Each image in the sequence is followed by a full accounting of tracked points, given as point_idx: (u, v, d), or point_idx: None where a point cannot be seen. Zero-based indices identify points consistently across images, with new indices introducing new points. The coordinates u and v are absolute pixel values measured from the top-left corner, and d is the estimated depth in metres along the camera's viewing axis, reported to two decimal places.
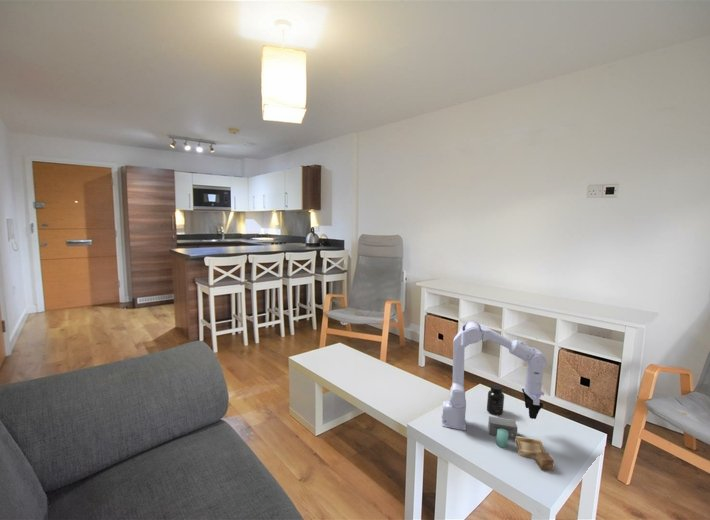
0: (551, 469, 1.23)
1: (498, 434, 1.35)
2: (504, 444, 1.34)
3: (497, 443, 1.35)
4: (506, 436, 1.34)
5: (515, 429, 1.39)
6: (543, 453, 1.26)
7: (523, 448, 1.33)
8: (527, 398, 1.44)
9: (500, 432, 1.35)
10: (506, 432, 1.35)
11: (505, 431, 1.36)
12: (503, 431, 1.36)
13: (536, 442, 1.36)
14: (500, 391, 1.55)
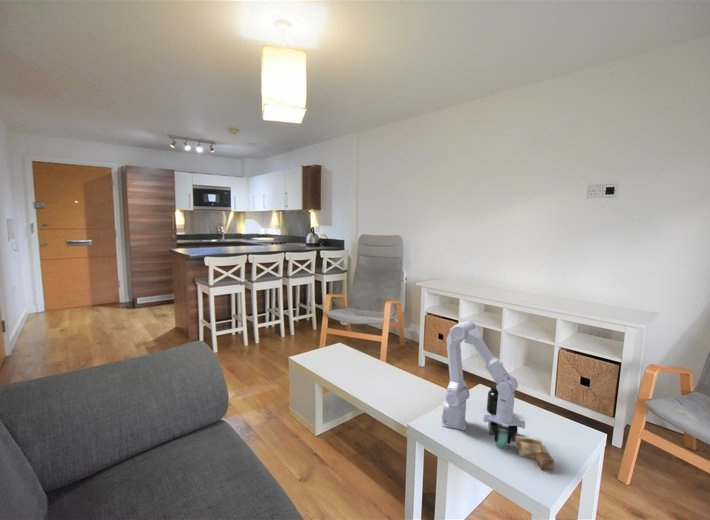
0: (551, 469, 1.23)
1: (498, 434, 1.35)
2: (504, 443, 1.34)
3: (497, 443, 1.35)
4: (506, 436, 1.34)
5: None
6: (543, 453, 1.26)
7: (523, 448, 1.33)
8: (508, 431, 1.35)
9: (500, 432, 1.35)
10: (506, 432, 1.35)
11: (505, 431, 1.36)
12: (503, 431, 1.36)
13: (536, 442, 1.36)
14: None
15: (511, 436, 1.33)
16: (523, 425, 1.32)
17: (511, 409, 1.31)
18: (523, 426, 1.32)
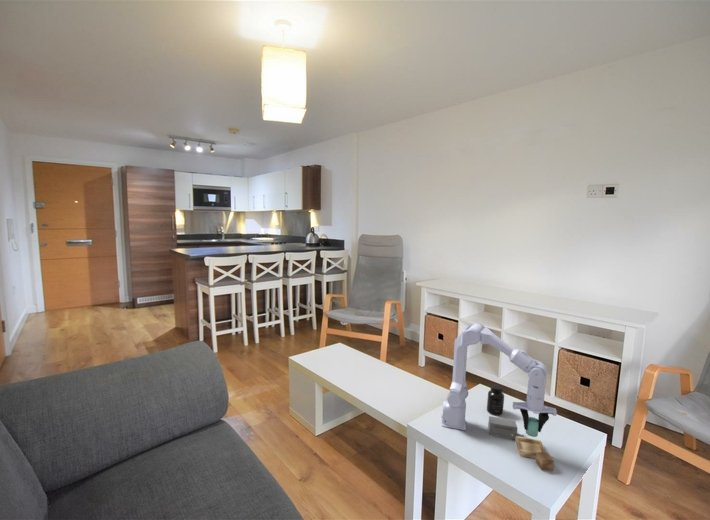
0: (551, 469, 1.23)
1: (528, 422, 1.31)
2: (535, 432, 1.30)
3: (527, 431, 1.32)
4: (537, 424, 1.30)
5: (515, 429, 1.39)
6: (543, 453, 1.26)
7: (523, 448, 1.33)
8: (539, 419, 1.32)
9: (530, 420, 1.31)
10: (536, 420, 1.31)
11: (535, 419, 1.32)
12: (533, 419, 1.32)
13: (536, 442, 1.36)
14: (500, 391, 1.55)
15: (542, 423, 1.29)
16: (555, 412, 1.29)
17: (543, 395, 1.28)
18: (555, 413, 1.29)
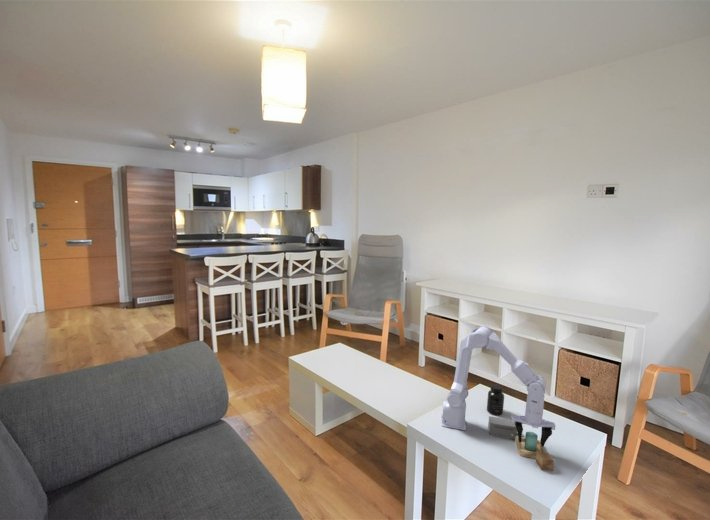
0: (551, 469, 1.23)
1: (527, 437, 1.32)
2: (533, 447, 1.31)
3: (526, 446, 1.33)
4: (535, 439, 1.31)
5: (515, 429, 1.39)
6: (543, 453, 1.26)
7: (523, 448, 1.33)
8: (542, 433, 1.32)
9: (529, 435, 1.32)
10: (535, 435, 1.32)
11: (534, 434, 1.33)
12: (532, 434, 1.33)
13: None
14: (500, 391, 1.55)
15: (545, 438, 1.30)
16: (553, 426, 1.29)
17: (542, 410, 1.29)
18: (553, 427, 1.29)
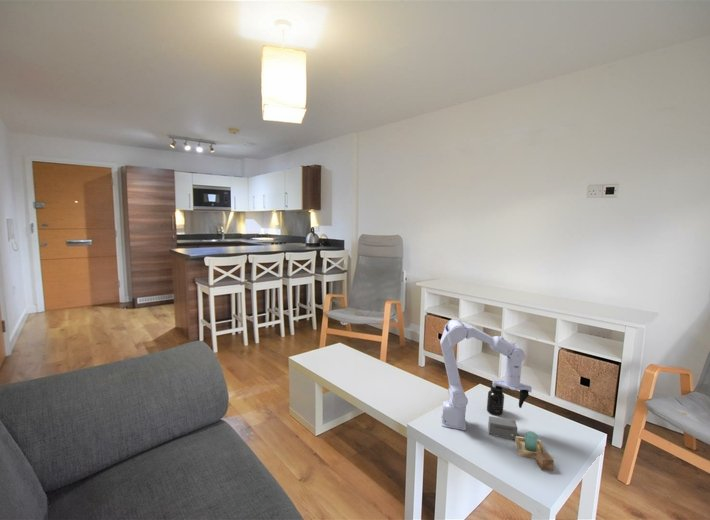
0: (551, 469, 1.23)
1: (527, 437, 1.32)
2: (533, 447, 1.31)
3: (526, 446, 1.33)
4: (535, 439, 1.31)
5: (515, 429, 1.39)
6: (543, 453, 1.26)
7: (523, 448, 1.33)
8: (520, 396, 1.45)
9: (529, 435, 1.32)
10: (535, 435, 1.32)
11: (534, 434, 1.33)
12: (532, 434, 1.33)
13: None
14: None
15: (523, 400, 1.43)
16: (530, 389, 1.42)
17: (520, 372, 1.43)
18: (530, 390, 1.42)
